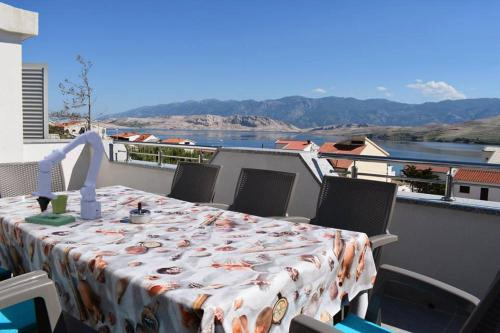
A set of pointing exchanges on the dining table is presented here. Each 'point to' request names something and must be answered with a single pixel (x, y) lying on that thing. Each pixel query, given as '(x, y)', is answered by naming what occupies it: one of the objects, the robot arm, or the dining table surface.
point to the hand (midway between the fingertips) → (43, 212)
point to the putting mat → (50, 219)
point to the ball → (44, 213)
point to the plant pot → (59, 204)
